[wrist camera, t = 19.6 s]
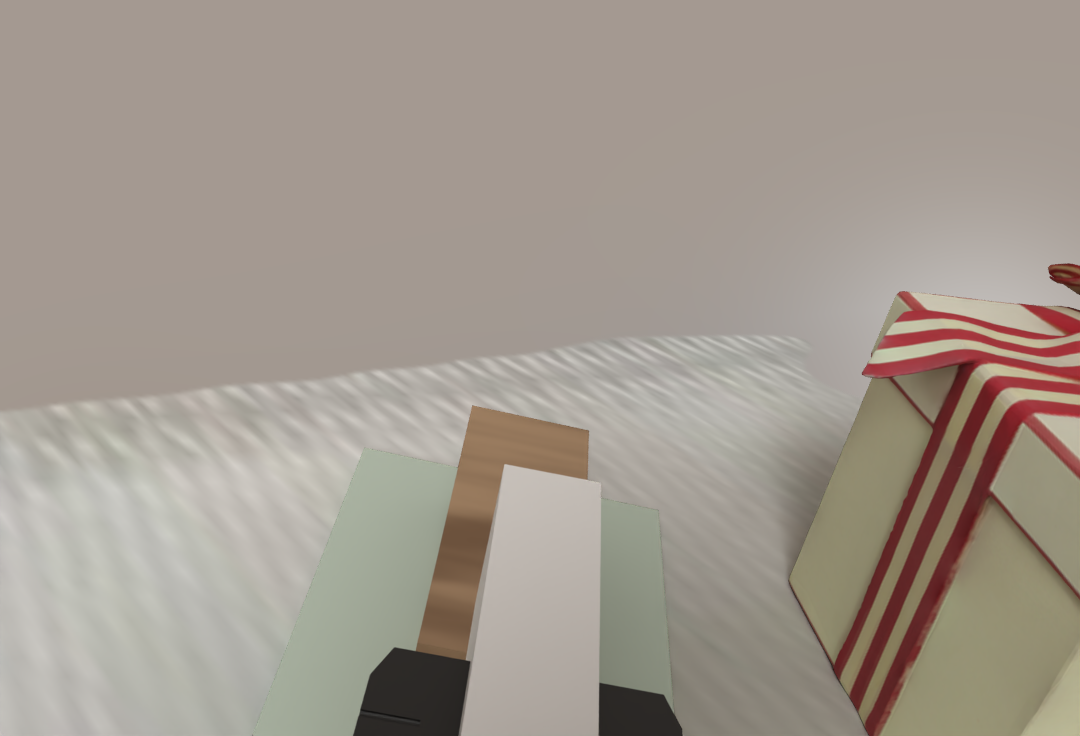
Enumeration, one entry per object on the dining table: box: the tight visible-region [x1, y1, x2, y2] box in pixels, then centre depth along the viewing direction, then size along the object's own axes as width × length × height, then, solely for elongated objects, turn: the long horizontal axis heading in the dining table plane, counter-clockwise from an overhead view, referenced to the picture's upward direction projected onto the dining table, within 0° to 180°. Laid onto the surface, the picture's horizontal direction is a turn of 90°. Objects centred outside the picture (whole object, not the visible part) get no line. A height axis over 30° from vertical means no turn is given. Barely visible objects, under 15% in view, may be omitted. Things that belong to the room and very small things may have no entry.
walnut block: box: [416, 405, 589, 660], centre depth 38 cm, size 5×5×14 cm
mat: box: [252, 448, 674, 736], centre depth 37 cm, size 24×14×1 cm, turn 176°
